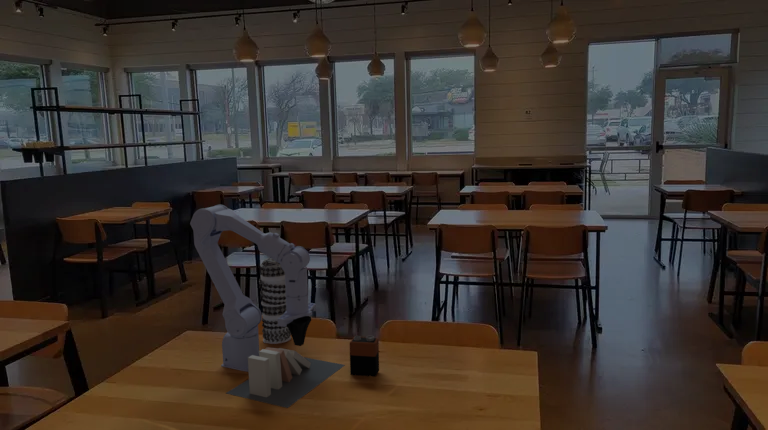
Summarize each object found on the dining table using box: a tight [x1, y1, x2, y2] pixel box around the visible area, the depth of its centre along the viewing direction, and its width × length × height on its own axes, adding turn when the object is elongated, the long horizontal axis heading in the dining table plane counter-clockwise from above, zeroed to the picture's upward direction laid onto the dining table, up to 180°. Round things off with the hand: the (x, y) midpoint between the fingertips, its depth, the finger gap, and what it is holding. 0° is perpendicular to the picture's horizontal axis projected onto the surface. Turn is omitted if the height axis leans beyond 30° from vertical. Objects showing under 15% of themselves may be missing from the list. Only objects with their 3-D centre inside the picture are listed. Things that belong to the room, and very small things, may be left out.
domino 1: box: [248, 355, 271, 397], centre depth 133 cm, size 2×5×9 cm, turn 64°
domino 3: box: [265, 346, 292, 382], centre depth 140 cm, size 2×5×9 cm, turn 64°
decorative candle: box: [258, 257, 292, 345], centre depth 169 cm, size 9×9×25 cm
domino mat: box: [225, 356, 346, 409], centre depth 142 cm, size 18×26×1 cm
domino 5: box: [278, 347, 311, 369], centre depth 146 cm, size 2×5×9 cm
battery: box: [349, 335, 380, 378], centre depth 144 cm, size 4×7×10 cm, turn 79°
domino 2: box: [259, 348, 282, 389], centre depth 137 cm, size 2×5×9 cm, turn 64°
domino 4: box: [274, 347, 302, 375], centre depth 143 cm, size 2×5×9 cm
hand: (299, 344), depth 147 cm, fingers closed
